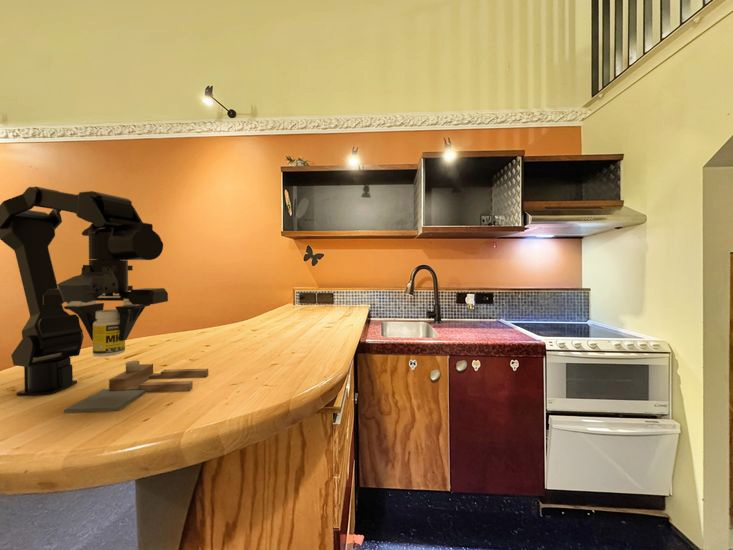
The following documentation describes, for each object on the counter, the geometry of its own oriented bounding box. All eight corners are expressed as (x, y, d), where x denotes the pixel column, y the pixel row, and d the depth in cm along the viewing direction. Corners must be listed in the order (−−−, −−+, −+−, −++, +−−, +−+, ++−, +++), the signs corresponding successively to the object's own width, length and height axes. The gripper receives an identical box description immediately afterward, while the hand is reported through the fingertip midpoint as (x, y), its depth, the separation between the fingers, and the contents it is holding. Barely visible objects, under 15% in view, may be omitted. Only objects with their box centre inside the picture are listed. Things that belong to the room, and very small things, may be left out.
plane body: (109, 393, 61) (108, 369, 61) (139, 377, 70) (139, 356, 70) (189, 391, 62) (189, 367, 62) (208, 375, 72) (208, 354, 72)
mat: (64, 412, 53) (64, 409, 53) (103, 391, 62) (103, 388, 62) (118, 410, 54) (118, 407, 54) (149, 390, 63) (149, 387, 63)
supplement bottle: (106, 358, 55) (105, 312, 55) (85, 356, 56) (85, 311, 55) (131, 351, 59) (131, 309, 59) (112, 349, 60) (112, 308, 60)
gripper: (9, 257, 48) (10, 353, 49) (132, 259, 50) (133, 351, 51) (70, 259, 59) (70, 337, 60) (169, 261, 61) (169, 336, 62)
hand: (109, 340), depth 58 cm, fingers closed on supplement bottle, 5 cm apart
